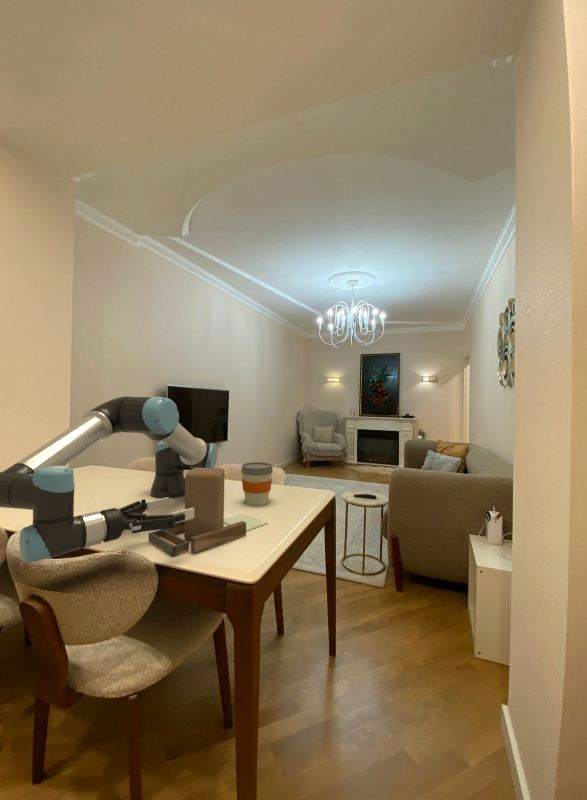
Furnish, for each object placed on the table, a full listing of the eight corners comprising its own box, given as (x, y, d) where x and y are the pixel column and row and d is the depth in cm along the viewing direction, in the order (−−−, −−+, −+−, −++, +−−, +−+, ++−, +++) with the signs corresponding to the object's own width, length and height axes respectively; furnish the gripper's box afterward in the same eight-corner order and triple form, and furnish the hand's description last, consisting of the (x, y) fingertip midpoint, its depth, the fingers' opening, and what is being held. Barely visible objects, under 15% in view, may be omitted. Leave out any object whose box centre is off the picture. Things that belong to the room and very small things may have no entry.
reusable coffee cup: (261, 496, 152) (262, 461, 152) (278, 503, 142) (278, 466, 141) (235, 500, 144) (235, 464, 144) (250, 509, 134) (251, 469, 134)
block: (217, 543, 103) (218, 474, 103) (183, 542, 103) (184, 474, 103) (224, 530, 113) (225, 467, 113) (192, 529, 113) (193, 467, 113)
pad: (220, 521, 120) (220, 520, 120) (242, 514, 128) (242, 513, 128) (245, 532, 112) (245, 530, 112) (267, 523, 119) (267, 522, 119)
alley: (162, 536, 107) (162, 523, 107) (212, 521, 121) (212, 509, 121) (194, 554, 96) (195, 539, 96) (246, 535, 109) (246, 522, 109)
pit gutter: (148, 541, 103) (148, 533, 103) (163, 537, 107) (163, 528, 107) (173, 556, 94) (173, 547, 94) (188, 551, 97) (188, 542, 97)
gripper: (82, 528, 94) (158, 510, 110) (122, 559, 77) (205, 532, 93) (83, 500, 94) (159, 486, 110) (122, 524, 77) (205, 503, 93)
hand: (180, 507), depth 102 cm, fingers open, 13 cm apart
